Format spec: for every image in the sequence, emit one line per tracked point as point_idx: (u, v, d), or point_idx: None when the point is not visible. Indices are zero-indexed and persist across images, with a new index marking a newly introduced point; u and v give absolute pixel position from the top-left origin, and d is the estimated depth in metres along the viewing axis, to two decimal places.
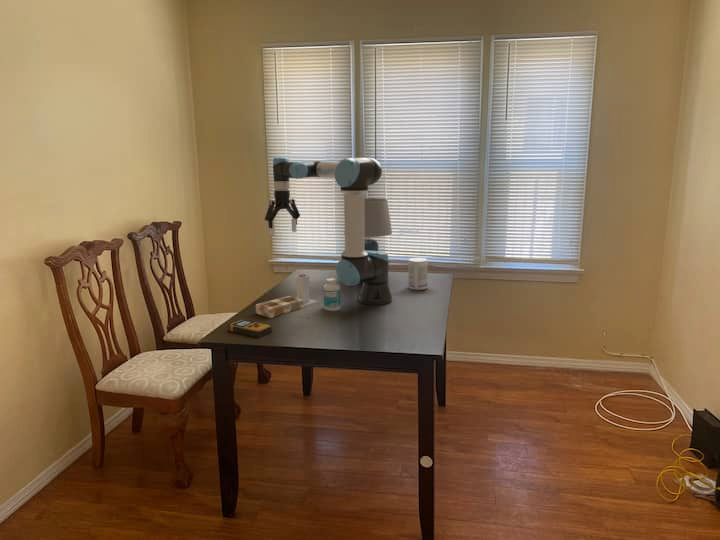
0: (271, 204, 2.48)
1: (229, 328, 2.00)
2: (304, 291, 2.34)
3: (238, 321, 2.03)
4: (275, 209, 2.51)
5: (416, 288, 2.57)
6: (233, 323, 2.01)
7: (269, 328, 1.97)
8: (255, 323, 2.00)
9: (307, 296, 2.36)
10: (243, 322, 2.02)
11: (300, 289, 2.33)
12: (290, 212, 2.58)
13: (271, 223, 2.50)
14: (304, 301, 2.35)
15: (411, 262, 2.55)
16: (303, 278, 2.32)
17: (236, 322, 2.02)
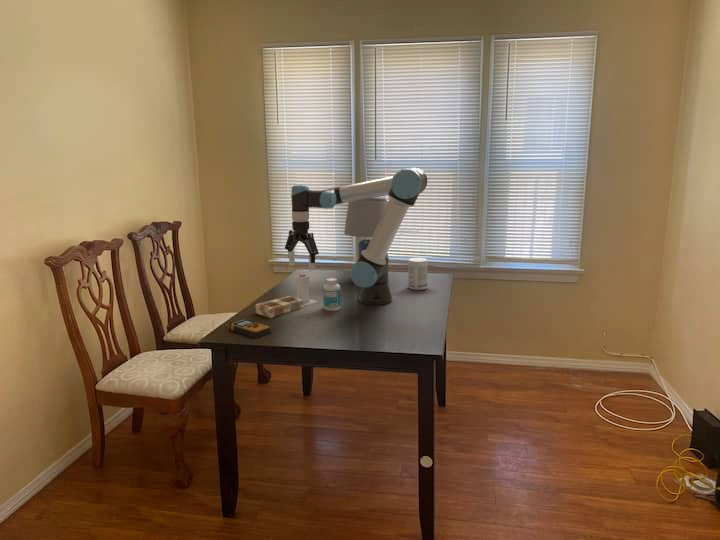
0: None
1: (230, 327, 2.01)
2: (304, 291, 2.34)
3: (240, 320, 2.04)
4: None
5: (416, 288, 2.57)
6: (234, 322, 2.02)
7: (268, 329, 1.96)
8: (255, 323, 2.00)
9: (307, 296, 2.36)
10: (244, 322, 2.02)
11: (300, 289, 2.33)
12: None
13: (289, 253, 2.37)
14: (304, 301, 2.35)
15: (411, 262, 2.55)
16: (303, 278, 2.32)
17: (238, 321, 2.03)
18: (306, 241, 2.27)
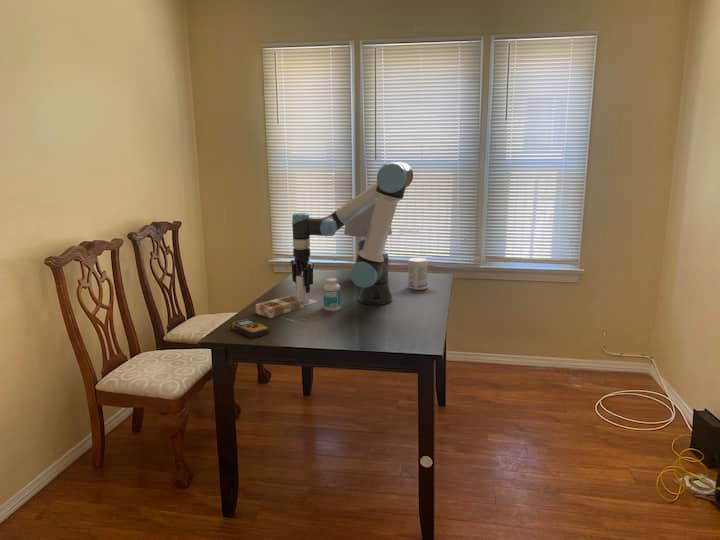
0: None
1: (232, 326, 2.02)
2: None
3: (242, 320, 2.04)
4: None
5: (416, 288, 2.57)
6: (236, 321, 2.02)
7: (266, 330, 1.95)
8: (255, 324, 2.00)
9: None
10: (246, 321, 2.03)
11: (300, 289, 2.33)
12: None
13: (296, 285, 2.37)
14: (304, 301, 2.35)
15: (411, 262, 2.55)
16: (303, 278, 2.32)
17: (239, 321, 2.03)
18: (305, 270, 2.31)
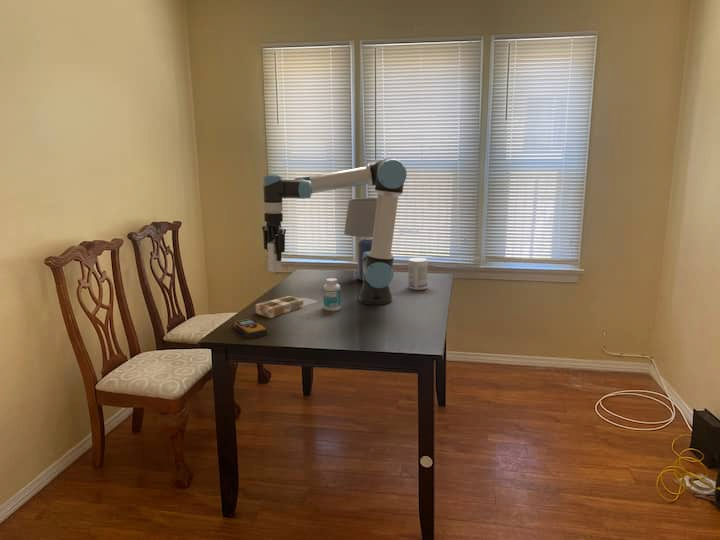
0: None
1: (234, 325, 2.03)
2: None
3: (245, 319, 2.05)
4: None
5: (416, 288, 2.57)
6: (238, 321, 2.03)
7: (263, 331, 1.94)
8: (255, 324, 1.99)
9: None
10: (247, 321, 2.03)
11: (271, 256, 2.17)
12: None
13: None
14: (275, 270, 2.19)
15: (411, 262, 2.55)
16: (274, 245, 2.16)
17: (242, 320, 2.04)
18: (276, 236, 2.15)
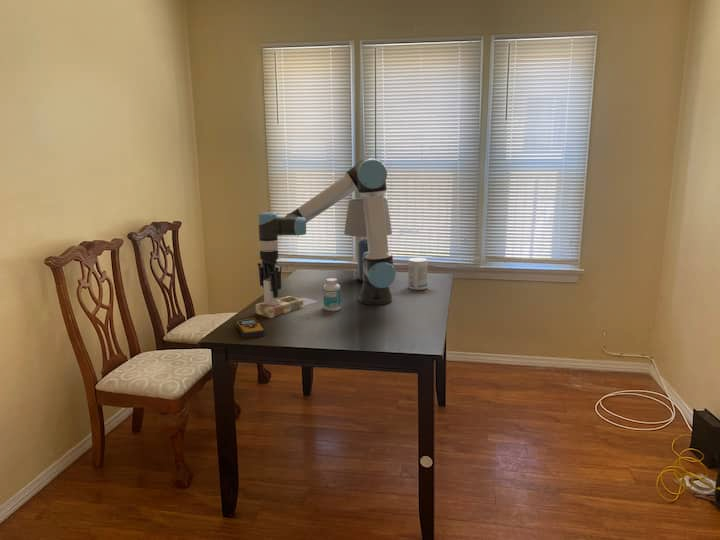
0: None
1: None
2: None
3: (247, 319, 2.05)
4: None
5: (416, 288, 2.57)
6: (241, 320, 2.04)
7: (260, 332, 1.94)
8: (255, 324, 1.99)
9: None
10: (249, 321, 2.03)
11: (268, 293, 2.18)
12: None
13: None
14: None
15: (411, 262, 2.55)
16: (270, 282, 2.16)
17: (244, 320, 2.05)
18: (272, 273, 2.16)
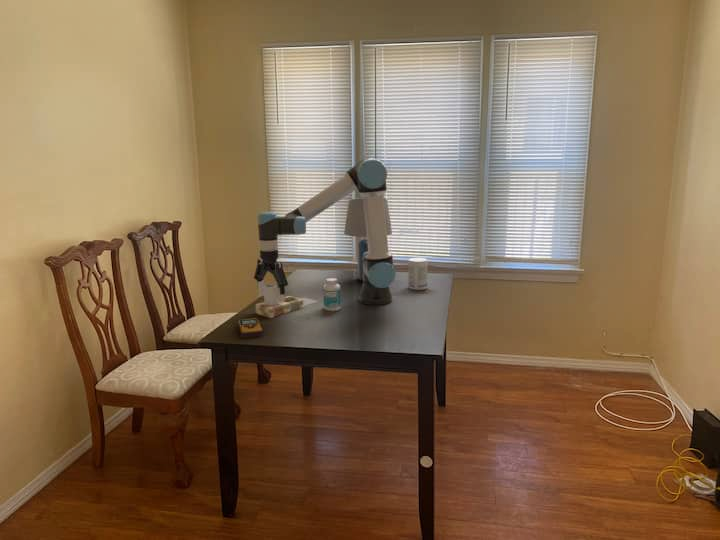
0: None
1: (238, 323, 2.05)
2: (272, 302, 2.18)
3: (249, 319, 2.06)
4: None
5: (416, 288, 2.57)
6: (242, 319, 2.05)
7: (258, 332, 1.93)
8: (254, 324, 1.99)
9: None
10: (250, 321, 2.03)
11: (268, 300, 2.18)
12: None
13: None
14: None
15: (411, 262, 2.55)
16: (271, 288, 2.17)
17: (246, 319, 2.05)
18: (275, 271, 2.15)
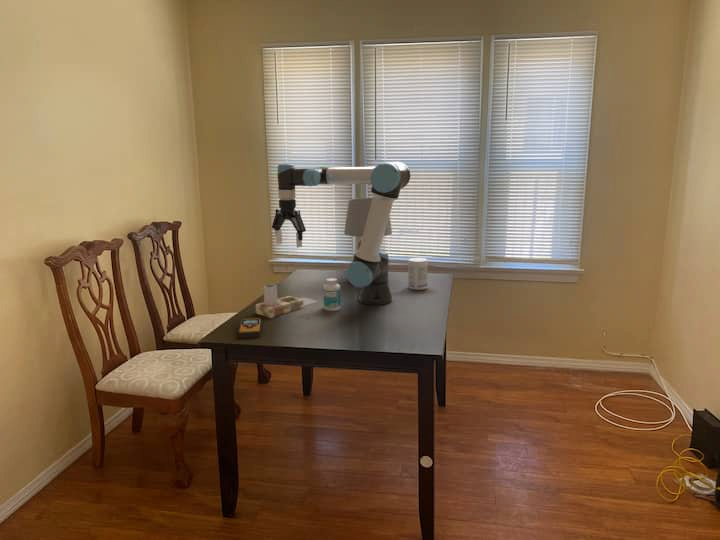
0: None
1: None
2: (272, 302, 2.18)
3: (252, 319, 2.06)
4: None
5: (416, 288, 2.57)
6: (245, 319, 2.05)
7: (255, 333, 1.93)
8: (254, 324, 1.98)
9: None
10: (252, 321, 2.04)
11: (268, 300, 2.18)
12: None
13: (276, 232, 2.40)
14: None
15: (411, 262, 2.55)
16: (271, 288, 2.17)
17: (248, 319, 2.05)
18: (293, 219, 2.32)
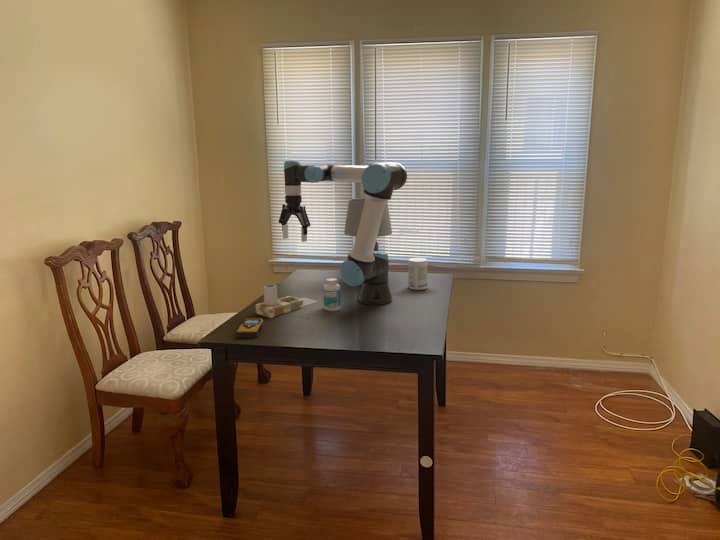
0: None
1: None
2: (272, 302, 2.18)
3: (254, 319, 2.06)
4: None
5: (416, 288, 2.57)
6: (247, 319, 2.06)
7: (252, 333, 1.92)
8: (254, 325, 1.98)
9: None
10: (254, 321, 2.03)
11: (268, 300, 2.18)
12: None
13: None
14: None
15: (411, 262, 2.55)
16: (271, 288, 2.17)
17: (251, 319, 2.06)
18: (298, 214, 2.39)
